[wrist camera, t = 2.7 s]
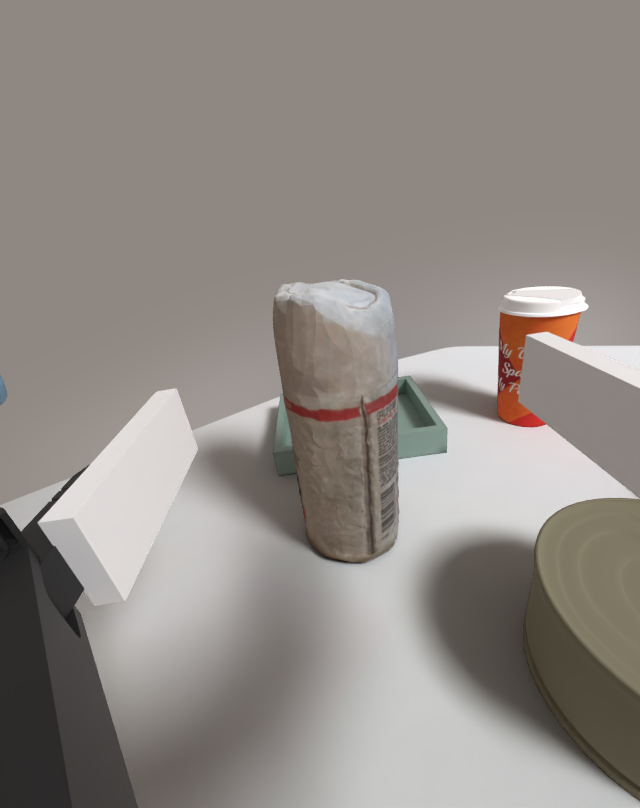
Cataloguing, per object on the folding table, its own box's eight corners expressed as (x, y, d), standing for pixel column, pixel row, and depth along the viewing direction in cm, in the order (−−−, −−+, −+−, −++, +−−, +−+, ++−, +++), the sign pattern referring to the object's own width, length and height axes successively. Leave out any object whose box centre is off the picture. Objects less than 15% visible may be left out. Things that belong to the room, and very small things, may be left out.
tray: (278, 475, 38) (272, 452, 36) (284, 413, 50) (280, 394, 49) (446, 452, 37) (447, 428, 36) (410, 395, 50) (409, 375, 48)
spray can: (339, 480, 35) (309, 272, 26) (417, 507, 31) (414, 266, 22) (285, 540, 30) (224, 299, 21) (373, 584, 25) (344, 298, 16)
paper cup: (477, 421, 42) (486, 301, 35) (500, 394, 46) (512, 284, 40) (554, 440, 36) (581, 304, 30) (571, 408, 41) (598, 285, 35)
